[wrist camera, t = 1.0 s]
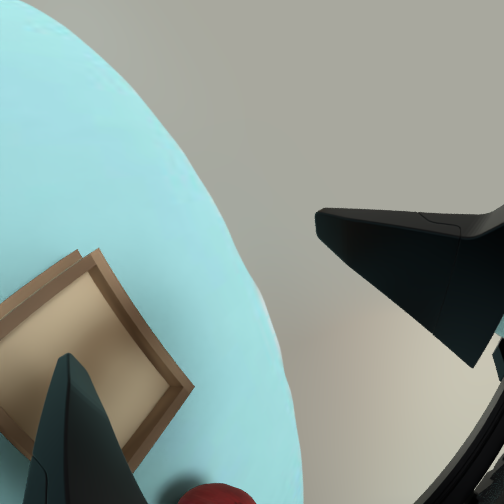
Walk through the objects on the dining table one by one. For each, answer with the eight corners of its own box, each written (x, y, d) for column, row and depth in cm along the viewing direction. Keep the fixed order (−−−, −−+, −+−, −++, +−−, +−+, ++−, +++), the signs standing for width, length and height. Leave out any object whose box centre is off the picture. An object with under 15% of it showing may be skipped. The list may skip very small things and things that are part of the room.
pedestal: (153, 382, 19) (205, 386, 17) (67, 487, 11) (107, 524, 8) (65, 257, 16) (101, 231, 14) (-57, 353, 8) (-66, 358, 5)
